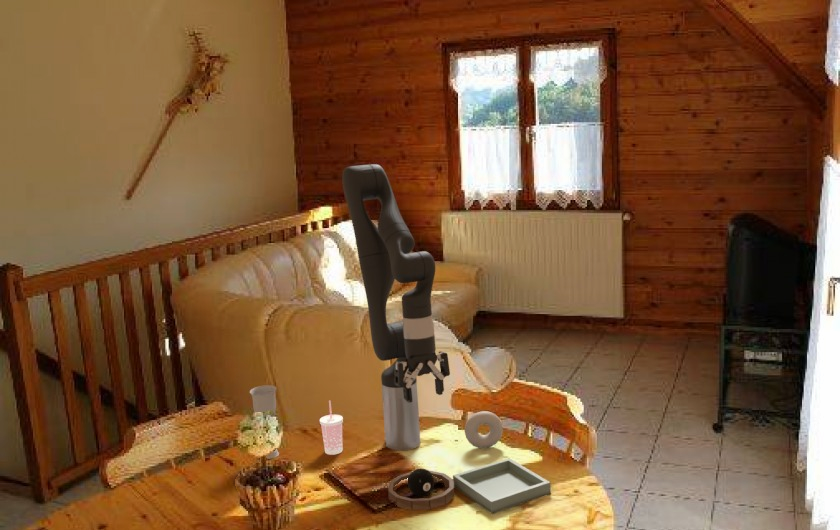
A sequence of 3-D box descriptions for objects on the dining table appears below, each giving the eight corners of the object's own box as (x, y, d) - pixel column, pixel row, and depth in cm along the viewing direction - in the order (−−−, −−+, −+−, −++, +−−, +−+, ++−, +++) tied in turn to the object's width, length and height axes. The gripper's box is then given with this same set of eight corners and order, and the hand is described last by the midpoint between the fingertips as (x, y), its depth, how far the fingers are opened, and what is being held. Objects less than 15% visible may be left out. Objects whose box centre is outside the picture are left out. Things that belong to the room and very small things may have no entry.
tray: (453, 486, 190) (452, 475, 189) (509, 468, 197) (509, 458, 197) (491, 513, 176) (491, 501, 176) (550, 493, 184) (550, 482, 183)
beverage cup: (350, 448, 215) (346, 398, 212) (335, 457, 210) (331, 406, 207) (332, 444, 218) (327, 395, 216) (317, 453, 213) (313, 402, 211)
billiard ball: (416, 502, 183) (414, 478, 182) (404, 492, 188) (402, 468, 187) (439, 495, 186) (437, 471, 185) (427, 486, 191) (425, 462, 190)
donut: (466, 452, 208) (464, 415, 206) (464, 447, 212) (462, 410, 210) (504, 448, 209) (503, 412, 207) (502, 443, 213) (500, 407, 211)
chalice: (276, 461, 210) (270, 395, 206) (251, 460, 211) (245, 394, 208) (286, 449, 217) (280, 385, 213) (262, 448, 218) (256, 384, 215)
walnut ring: (378, 490, 190) (377, 481, 190) (433, 473, 197) (433, 465, 197) (408, 516, 177) (407, 507, 177) (466, 497, 184) (466, 488, 184)
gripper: (436, 326, 204) (441, 388, 206) (386, 336, 197) (391, 400, 200) (451, 331, 198) (456, 395, 200) (400, 341, 191) (406, 408, 193)
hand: (424, 397), depth 200 cm, fingers open, 8 cm apart
